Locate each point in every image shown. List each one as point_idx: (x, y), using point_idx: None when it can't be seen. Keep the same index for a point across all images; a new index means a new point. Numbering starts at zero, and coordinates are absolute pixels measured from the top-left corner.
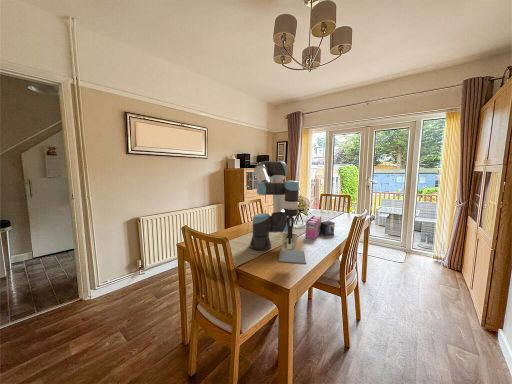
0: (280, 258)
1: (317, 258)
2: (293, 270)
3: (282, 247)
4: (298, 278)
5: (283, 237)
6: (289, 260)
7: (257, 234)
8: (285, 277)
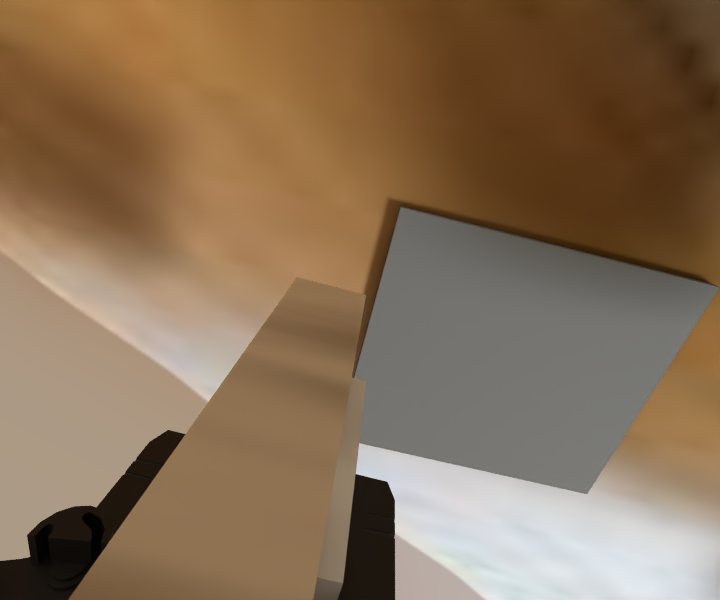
0: (461, 238)
1: (432, 532)
2: (219, 305)
3: (287, 294)
4: (89, 309)
5: (189, 448)
6: (401, 320)
7: None
8: (82, 204)
